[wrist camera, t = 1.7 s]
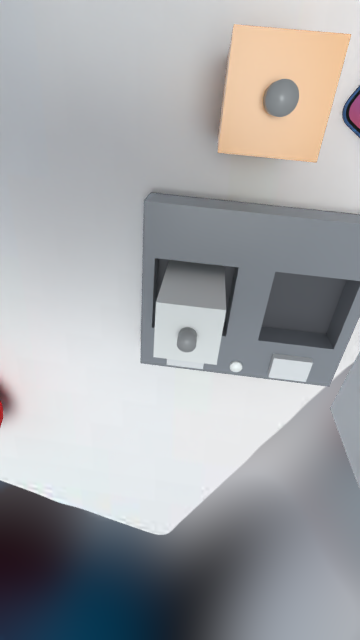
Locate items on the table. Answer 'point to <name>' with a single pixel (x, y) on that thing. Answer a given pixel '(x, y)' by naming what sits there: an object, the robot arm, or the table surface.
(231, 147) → the orange plug
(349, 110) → the smartphone
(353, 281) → the socket block
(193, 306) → the white rectangular block
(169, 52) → the table surface
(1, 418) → the tomato
